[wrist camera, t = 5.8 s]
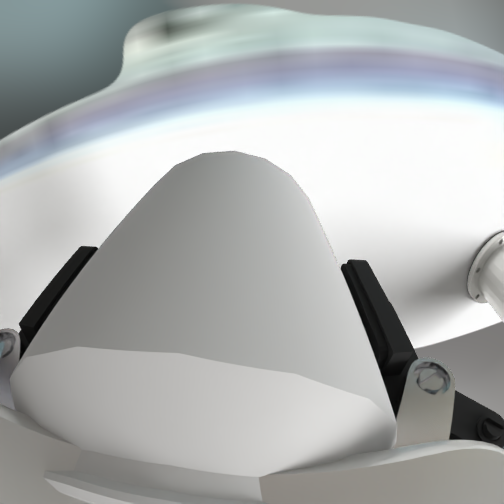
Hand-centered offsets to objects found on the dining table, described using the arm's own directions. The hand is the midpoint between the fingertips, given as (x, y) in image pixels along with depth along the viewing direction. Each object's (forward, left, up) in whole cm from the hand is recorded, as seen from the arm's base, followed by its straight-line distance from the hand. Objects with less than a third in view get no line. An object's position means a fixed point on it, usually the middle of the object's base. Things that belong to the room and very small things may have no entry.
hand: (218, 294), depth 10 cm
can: (0, 0, -5) cm, 5 cm away
